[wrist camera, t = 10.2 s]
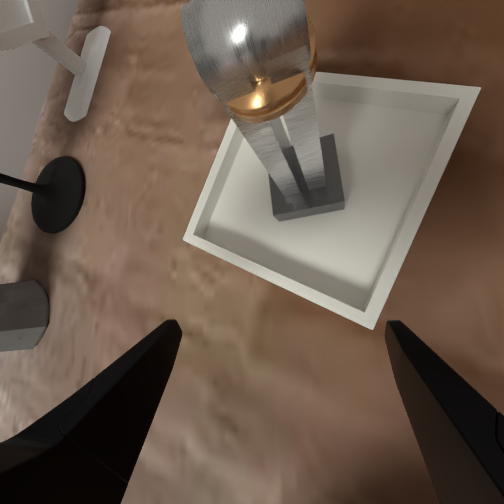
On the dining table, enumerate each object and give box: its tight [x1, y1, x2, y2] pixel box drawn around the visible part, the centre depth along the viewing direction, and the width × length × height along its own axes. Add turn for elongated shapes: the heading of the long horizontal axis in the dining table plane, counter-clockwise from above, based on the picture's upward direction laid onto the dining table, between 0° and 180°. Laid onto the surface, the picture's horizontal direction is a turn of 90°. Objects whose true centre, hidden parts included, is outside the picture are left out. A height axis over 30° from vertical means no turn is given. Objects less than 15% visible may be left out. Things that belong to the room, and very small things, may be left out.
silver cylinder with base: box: [181, 0, 345, 222], centre depth 12 cm, size 5×5×14 cm
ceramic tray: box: [183, 72, 481, 330], centre depth 18 cm, size 16×16×2 cm
